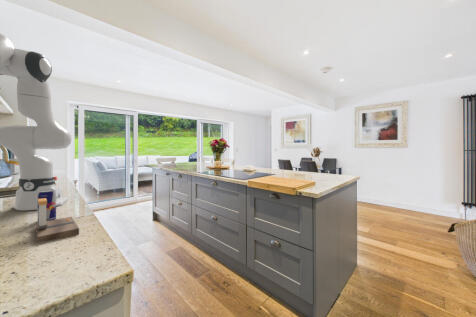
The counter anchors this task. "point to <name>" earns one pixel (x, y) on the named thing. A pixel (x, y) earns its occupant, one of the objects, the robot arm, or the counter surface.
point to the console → (57, 229)
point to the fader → (42, 213)
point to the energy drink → (48, 203)
